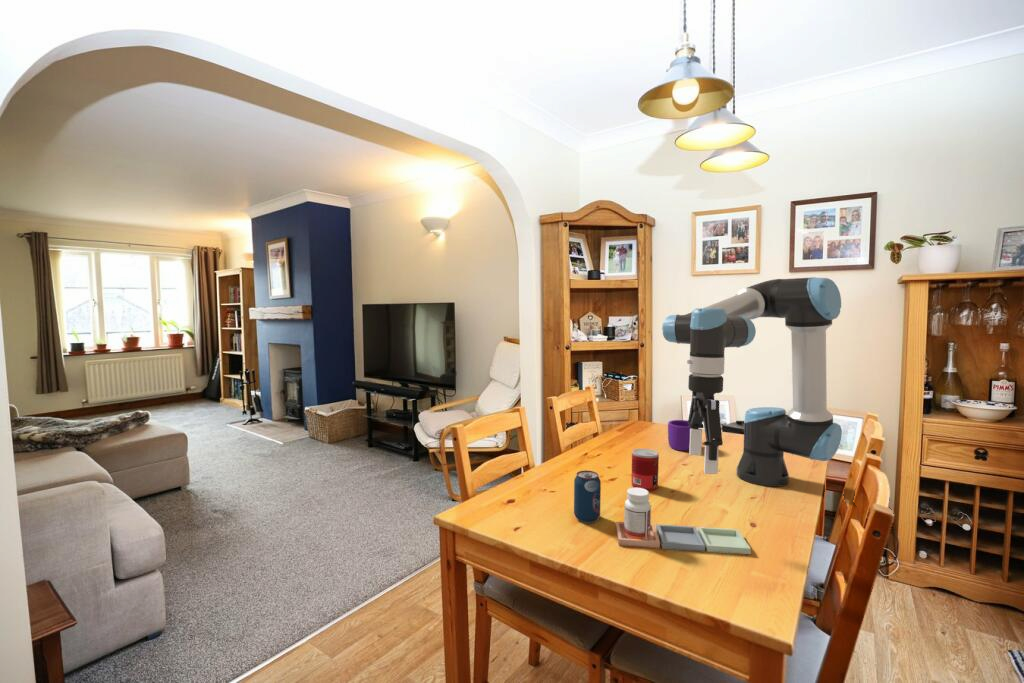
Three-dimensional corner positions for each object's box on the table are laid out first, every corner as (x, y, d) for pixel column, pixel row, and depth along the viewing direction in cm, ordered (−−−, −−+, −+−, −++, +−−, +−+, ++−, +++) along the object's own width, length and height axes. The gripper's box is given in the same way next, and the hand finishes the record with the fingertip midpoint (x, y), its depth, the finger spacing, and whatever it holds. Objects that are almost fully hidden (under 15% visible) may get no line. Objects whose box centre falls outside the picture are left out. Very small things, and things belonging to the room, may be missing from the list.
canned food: (659, 492, 146) (659, 456, 145) (631, 490, 148) (632, 455, 147) (656, 482, 154) (657, 449, 153) (630, 481, 155) (631, 447, 154)
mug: (695, 454, 183) (696, 428, 182) (664, 449, 188) (665, 424, 188) (702, 442, 198) (703, 418, 197) (673, 438, 203) (674, 415, 203)
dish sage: (737, 535, 119) (737, 529, 119) (750, 554, 110) (750, 548, 110) (697, 532, 121) (697, 526, 120) (707, 551, 111) (707, 545, 111)
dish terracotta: (653, 529, 122) (654, 524, 122) (659, 548, 113) (659, 542, 113) (616, 527, 123) (616, 521, 123) (618, 545, 114) (618, 539, 114)
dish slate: (695, 532, 121) (695, 526, 121) (704, 551, 111) (704, 545, 111) (656, 529, 122) (656, 524, 122) (662, 548, 113) (662, 542, 113)
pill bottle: (638, 528, 122) (639, 484, 121) (655, 539, 117) (656, 493, 116) (618, 533, 119) (619, 488, 119) (635, 544, 114) (636, 498, 113)
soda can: (600, 524, 125) (600, 479, 124) (573, 522, 126) (573, 478, 125) (600, 513, 132) (600, 470, 131) (574, 511, 133) (574, 468, 132)
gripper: (677, 367, 125) (674, 447, 127) (703, 382, 101) (699, 481, 102) (707, 368, 124) (704, 448, 126) (741, 383, 100) (737, 483, 101)
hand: (702, 463), depth 114 cm, fingers open, 13 cm apart
